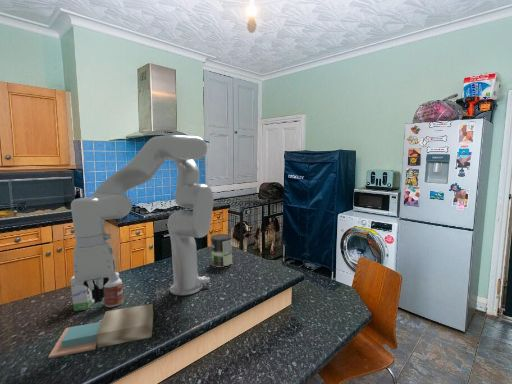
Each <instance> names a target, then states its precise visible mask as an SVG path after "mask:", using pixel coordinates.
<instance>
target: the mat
mask: <svg viewBox="0 0 512 384" xmlns="http://www.w3.org/2000/svg"><path fill="white" fill-rule="evenodd" d="M93 323H94V322H91V324H93ZM96 323H98V322H96ZM82 325H83V324H82ZM82 325H79V326H82ZM85 325H87V323H86V324H85ZM76 326H77V325H75V326H73V327H76ZM70 327H71V326H70ZM70 327H66V328H64V330H63V332H62V333H61V335H60V337H59V339H58V340H57V342H56V343H55V345H54V347H53V348H52V350H51V351H50V353H49V355H48V359H54V358H57V357H62V356H63V357H64V356H68V355H73V354H74V355H75V354H78V353H83V352H89V351H92V350H96V349H97V347H98V343H97V341H96V342H91V343H86V344H81V345H76V346H70V347H65V348H62V340H63V338H64V336H65V335H66V333H67V331H68V329H69V328H70Z"/></svg>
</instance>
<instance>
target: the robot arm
mask: <svg viewBox="0 0 512 384" xmlns="http://www.w3.org/2000/svg"><path fill="white" fill-rule="evenodd" d="M207 153H208V145H207V143H206V141H205V140H204V138H202V137H200V136H197V135H196V136H195V135H181V134H179V135H178V134H168V135H167V134H166V135H157V136H154V137H152V138H150V139H148V141H147V142H146V143H145V144H144V145H143V146H142V147H141V149H140V150H139V151H138V152H137V154H135V156H134V157H133V158H132V159H131V160H130V162H128V164H126V165H124V166H123V167H122V168H120V169H119V170H117V171H116V172H115V173H114V174H112V175H111V176H109V177H108V178H107V179H105V180H104V181H103V182H102V183H101V184H100V185H99V187H97V189H96V190H95V191H94V192H93V194H92V195H91V196H87V197H81V198H80V197H79V198H75V199H73V200H72V201H71V203H70V209H71V216H72V217H71V218H72V223H73V229H74V230H73V231H74V239H75V245H76V246H74V247H73V259H72V260H73V261H72V263H73V276H74V277H75V280H76V281H75V284H76V285H85V286H86V287H88V288H89V289H90V290H91V292H92V299H94V300H95V301H94V303H95V304H96V303H101V302H102V301H103V299H104V297H105V292H104V285H105V284H106V283H107V282H108V281H110V280H113V279H115V278H116V276H117V275H116V273H115V272H116V262H115V261H116V260H115V255H114V252H113V248H112V245H111V242H110V240H109V239H112V234H111V233H107V232H106V228H105V221H107V220H115V219H122V218H125V217H126V216H127V215H128V214H129V213H130V212H131V211H132V209H133V202H132V201H131V199H130V198H129V196H128V195H125V193H126V192H128V191H129V190H131V189H133V188H135V187H138V186H141V185H143V184H146V183H148V182H149V181H151V179H152V178H153V177H154V176H155V174H156V173H157V172H158V171H159V170H160V168H161V167H162V165H163V164H164V163H165V161H169V160H170V161H173V162H174V163H175V166H176V170H177V179H176V186H175V187H176V188H175V195H174V201H175V204H176V205H177V206H178V207H180V208H185V209H187V208H188V209H192V211H188V210H187V211H186V210H177V211H174V212H173V213H171V214H170V215H169V216H168V218H167V230H168V234H169V238H170V245H171V255H172V256H171V258H172V259H171V260H172V274H173V284H171V286H170V287H169V288H170V289H169V291H170V293H171V294H172V295H175V296H189V295H193V294H196V293H198V292H199V291H201V290H202V289H203V284H206V283H210V281H211V279H210V277H209V276H208V277H207V276H206V275H204V276H200V275H199V273H198V269H199V268H198V254H197V242H196V240H195V238H196V239H197V238H198V239H200V238H204V237H206V236H207V235H208V233H209V232H210V229H211V224H212V217H213V209H214V208H213V207H214V198H215V197H214V193H213V191H212V188H211V187H210V185H207V184H204V183H203V184H202V183H200V169H199V167H198V164H197V162H196V160H200V159H202V158H204V157H205V156H206V154H207ZM108 240H109V241H108ZM96 280H98V285H97V283H96Z"/></svg>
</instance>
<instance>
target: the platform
mask: <svg viewBox="0 0 512 384" xmlns="http://www.w3.org/2000/svg"><path fill="white" fill-rule="evenodd" d="M153 306H154V305H153V303H150V304H148V303H147V304H142V305H138V306H130V307H125V308H120V309H119V308H118V309H112V310H107V311H105V313H104V316H103V318H102V321H100V322H101V325H100V327H99V330H98V332H97V343H98V344H97V348H103V347H107V346H108V347H109V346H114V345H117V344H122V343H128V342H129V343H130V342H134V341H138V340H143V339H148V338H152V337H153V336H152V335H153V325H154V307H153Z"/></svg>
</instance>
